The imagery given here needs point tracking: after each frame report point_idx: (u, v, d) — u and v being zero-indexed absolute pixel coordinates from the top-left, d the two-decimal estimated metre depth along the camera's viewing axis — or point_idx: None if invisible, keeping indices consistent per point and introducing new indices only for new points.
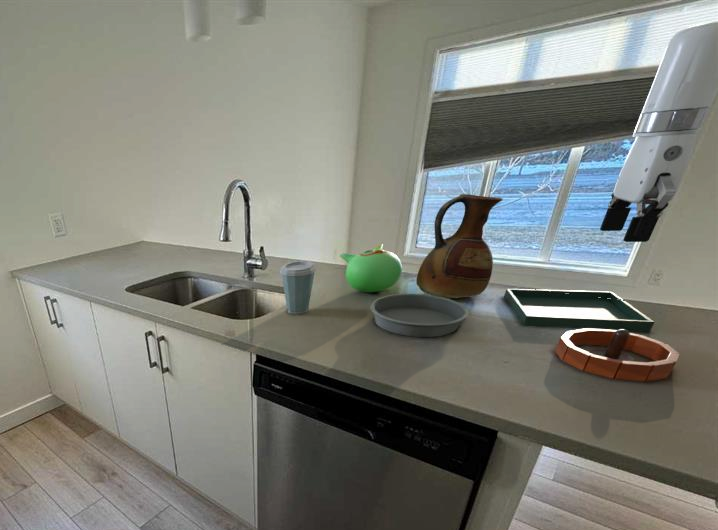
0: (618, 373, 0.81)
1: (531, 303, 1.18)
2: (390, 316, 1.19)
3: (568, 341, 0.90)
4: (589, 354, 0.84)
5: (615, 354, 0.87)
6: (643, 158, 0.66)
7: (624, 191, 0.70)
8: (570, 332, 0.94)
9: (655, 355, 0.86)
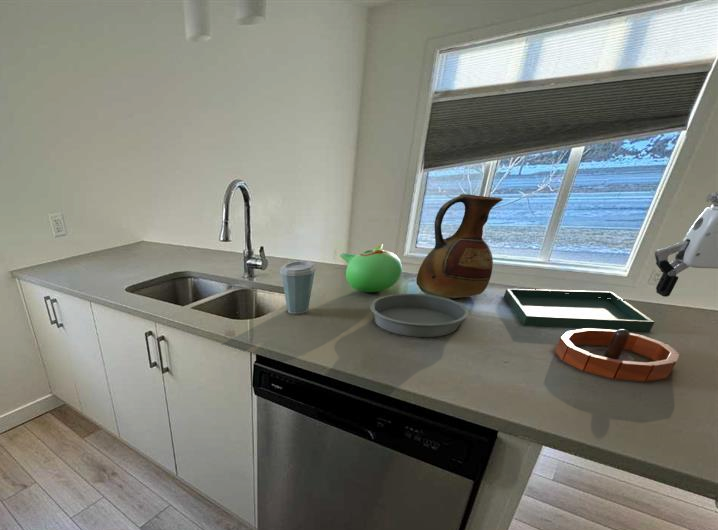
0: (618, 373, 0.81)
1: (531, 303, 1.18)
2: (390, 316, 1.19)
3: (568, 341, 0.90)
4: (589, 354, 0.84)
5: (615, 354, 0.87)
6: None
7: None
8: (570, 332, 0.94)
9: (655, 355, 0.86)
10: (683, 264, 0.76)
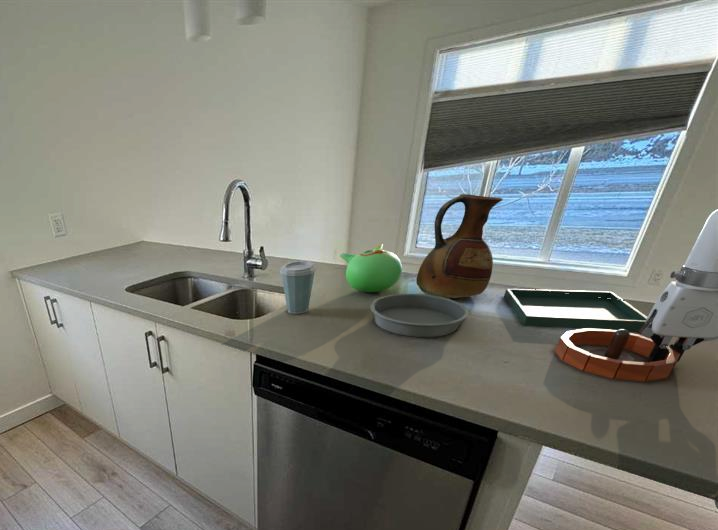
0: (618, 373, 0.81)
1: (531, 303, 1.18)
2: (390, 316, 1.19)
3: (568, 341, 0.90)
4: (589, 354, 0.84)
5: (615, 354, 0.87)
6: None
7: None
8: (570, 332, 0.94)
9: None
10: (665, 337, 0.82)
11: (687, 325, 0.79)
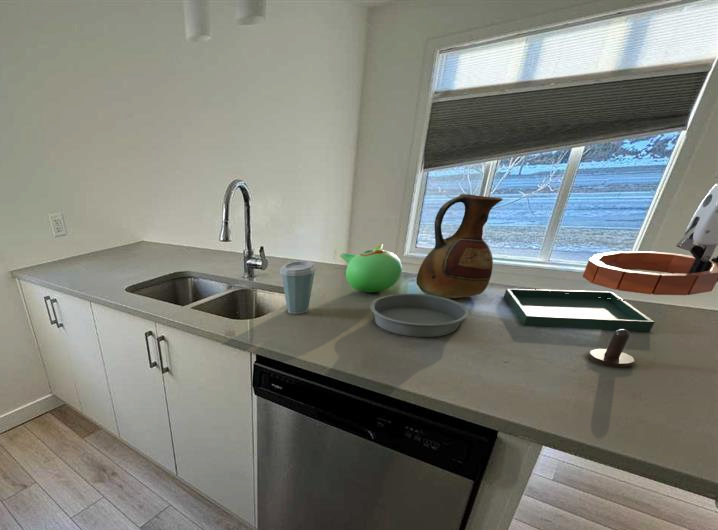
0: (657, 288, 0.74)
1: (531, 303, 1.18)
2: (390, 316, 1.19)
3: (598, 262, 0.82)
4: (623, 270, 0.77)
5: (615, 354, 0.87)
6: None
7: None
8: (599, 255, 0.86)
9: None
10: (707, 248, 0.75)
11: None
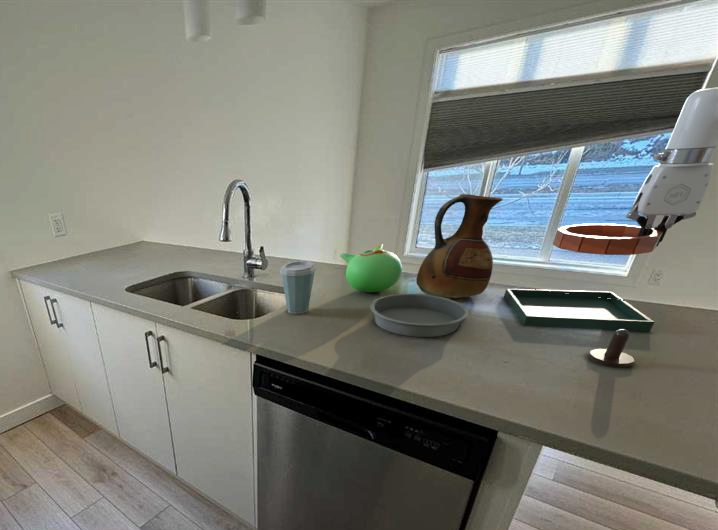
0: (608, 249, 0.92)
1: (531, 303, 1.18)
2: (390, 316, 1.19)
3: (564, 231, 1.00)
4: (583, 236, 0.95)
5: (615, 354, 0.87)
6: None
7: None
8: (566, 226, 1.04)
9: None
10: (649, 218, 0.93)
11: (668, 202, 0.89)
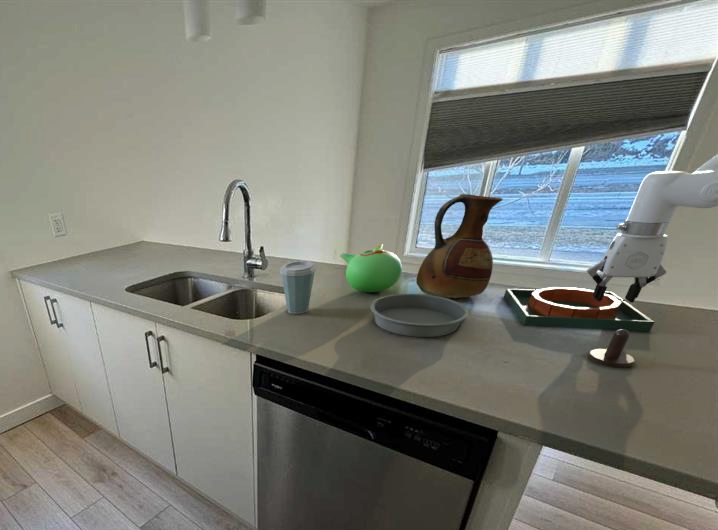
0: None
1: None
2: (390, 316, 1.19)
3: (537, 296, 1.13)
4: (552, 303, 1.07)
5: (615, 354, 0.87)
6: None
7: None
8: (539, 290, 1.17)
9: (605, 305, 1.09)
10: (607, 277, 1.04)
11: (629, 267, 1.00)
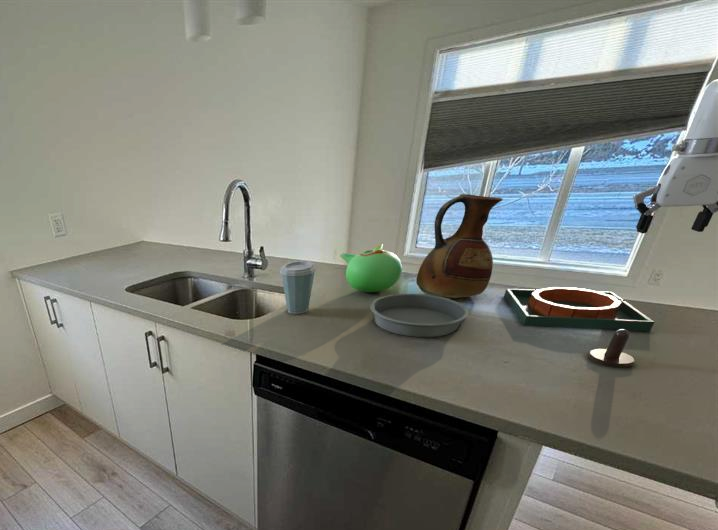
0: None
1: None
2: (390, 316, 1.19)
3: (537, 296, 1.13)
4: (552, 303, 1.07)
5: (615, 354, 0.87)
6: None
7: None
8: (539, 290, 1.17)
9: (605, 305, 1.09)
10: (656, 204, 0.92)
11: (688, 193, 0.88)
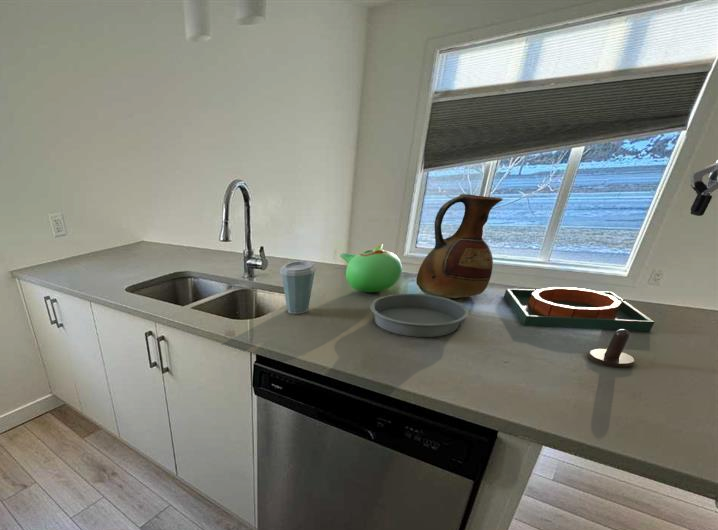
0: None
1: None
2: (390, 316, 1.19)
3: (537, 296, 1.13)
4: (552, 303, 1.07)
5: (615, 354, 0.87)
6: None
7: None
8: (539, 290, 1.17)
9: (605, 305, 1.09)
10: (717, 183, 0.83)
11: None
